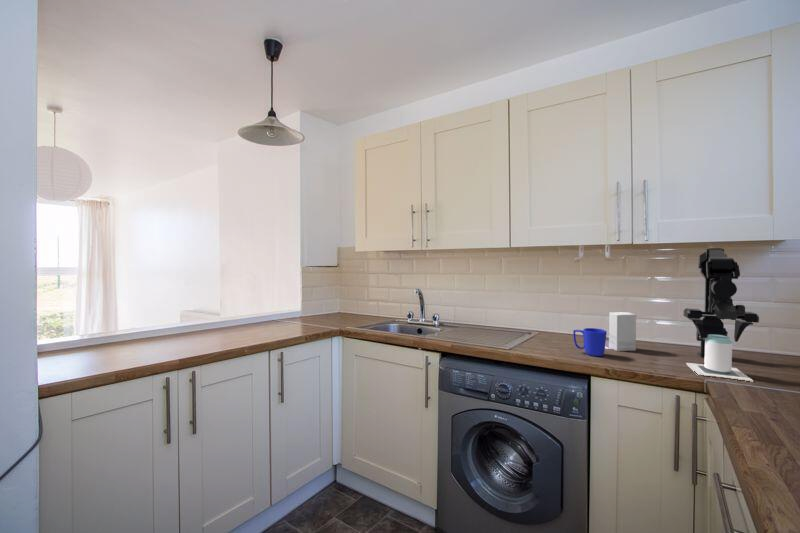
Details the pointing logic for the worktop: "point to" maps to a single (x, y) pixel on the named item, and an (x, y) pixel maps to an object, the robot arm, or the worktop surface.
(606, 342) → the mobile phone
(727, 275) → the robot arm
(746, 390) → the worktop surface
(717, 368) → the can
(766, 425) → the worktop surface
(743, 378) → the dock
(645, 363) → the worktop surface
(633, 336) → the skincare box
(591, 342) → the mug
